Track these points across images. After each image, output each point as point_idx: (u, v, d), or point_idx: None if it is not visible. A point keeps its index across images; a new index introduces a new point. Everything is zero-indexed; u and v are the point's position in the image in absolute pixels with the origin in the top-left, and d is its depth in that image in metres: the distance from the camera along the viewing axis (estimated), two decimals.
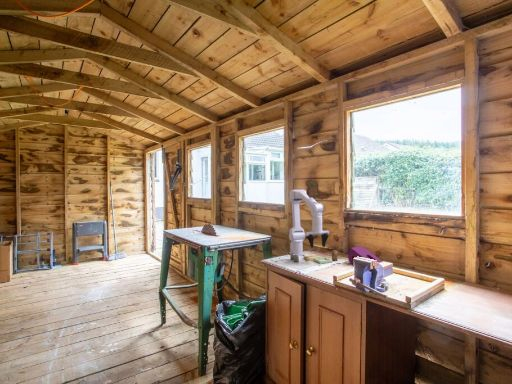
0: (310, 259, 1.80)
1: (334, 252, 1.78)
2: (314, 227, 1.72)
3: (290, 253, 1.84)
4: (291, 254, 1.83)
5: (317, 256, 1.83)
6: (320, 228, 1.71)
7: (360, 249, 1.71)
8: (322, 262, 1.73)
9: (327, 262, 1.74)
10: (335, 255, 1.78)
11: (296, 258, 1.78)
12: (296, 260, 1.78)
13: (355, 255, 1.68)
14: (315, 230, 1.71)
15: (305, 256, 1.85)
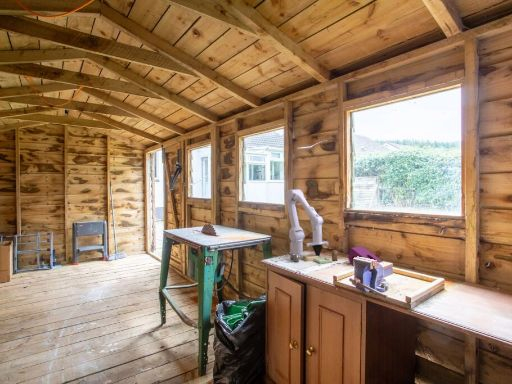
0: (308, 259, 1.80)
1: (334, 252, 1.78)
2: (314, 238, 1.84)
3: (290, 253, 1.84)
4: (291, 254, 1.83)
5: (316, 256, 1.83)
6: (320, 239, 1.83)
7: (361, 249, 1.71)
8: (322, 262, 1.73)
9: (327, 262, 1.74)
10: (335, 255, 1.78)
11: (296, 258, 1.78)
12: (296, 260, 1.78)
13: (355, 255, 1.68)
14: (315, 241, 1.84)
15: (304, 256, 1.85)
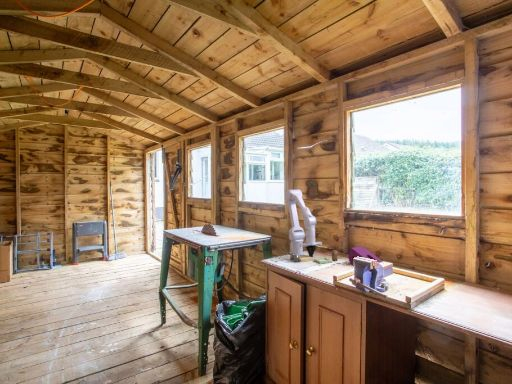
0: (302, 260, 1.78)
1: (334, 252, 1.78)
2: (307, 239, 1.83)
3: (290, 253, 1.84)
4: (291, 254, 1.83)
5: (309, 257, 1.82)
6: (313, 240, 1.82)
7: (361, 249, 1.71)
8: (322, 262, 1.73)
9: (327, 262, 1.74)
10: (335, 255, 1.78)
11: (296, 258, 1.78)
12: (296, 260, 1.78)
13: (355, 255, 1.68)
14: (308, 242, 1.82)
15: None
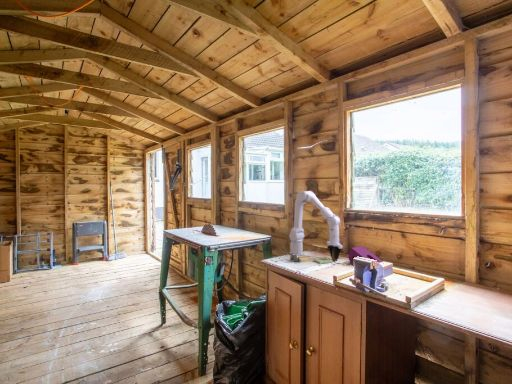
0: (301, 260, 1.78)
1: None
2: None
3: (290, 253, 1.84)
4: (291, 254, 1.83)
5: (309, 257, 1.82)
6: (330, 240, 1.78)
7: (361, 249, 1.71)
8: (322, 262, 1.73)
9: (327, 262, 1.74)
10: None
11: (296, 258, 1.78)
12: (296, 260, 1.78)
13: (355, 255, 1.68)
14: None
15: None
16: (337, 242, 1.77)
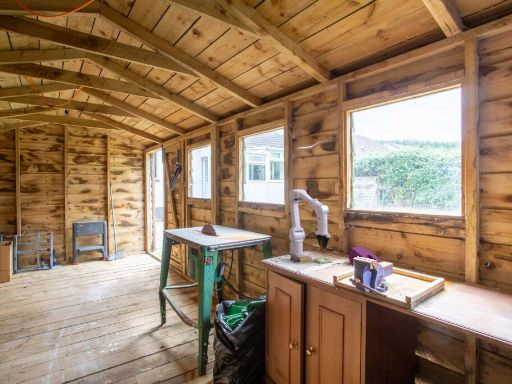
0: (301, 260, 1.78)
1: None
2: None
3: (290, 253, 1.84)
4: (291, 254, 1.83)
5: (309, 257, 1.82)
6: (319, 229, 1.76)
7: (361, 249, 1.71)
8: (322, 262, 1.73)
9: (327, 262, 1.74)
10: None
11: (296, 258, 1.78)
12: (296, 260, 1.78)
13: (355, 255, 1.68)
14: None
15: None
16: (325, 231, 1.75)
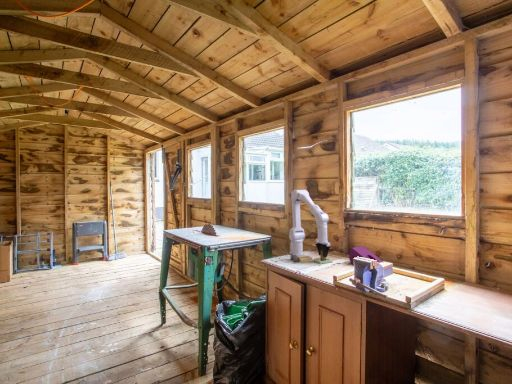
0: (302, 260, 1.78)
1: None
2: None
3: (290, 253, 1.84)
4: (291, 254, 1.83)
5: (309, 257, 1.82)
6: (319, 237, 1.76)
7: (361, 249, 1.71)
8: (322, 262, 1.73)
9: (327, 262, 1.74)
10: None
11: (296, 258, 1.78)
12: (296, 260, 1.78)
13: (356, 255, 1.68)
14: None
15: None
16: (325, 240, 1.75)
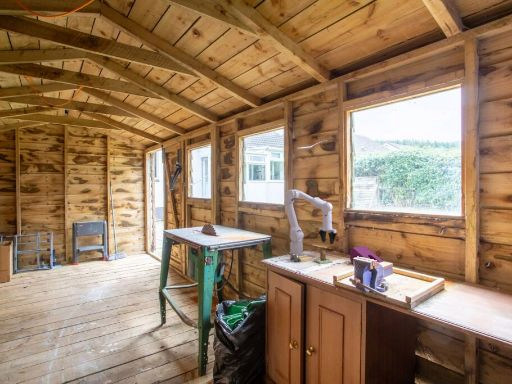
0: (302, 260, 1.78)
1: (322, 252, 1.76)
2: None
3: (290, 253, 1.84)
4: (291, 254, 1.83)
5: (309, 257, 1.82)
6: (324, 225, 1.86)
7: (362, 249, 1.71)
8: (322, 262, 1.73)
9: (327, 262, 1.74)
10: (323, 255, 1.76)
11: (296, 258, 1.78)
12: (296, 260, 1.78)
13: (356, 255, 1.69)
14: None
15: None
16: (330, 227, 1.85)
